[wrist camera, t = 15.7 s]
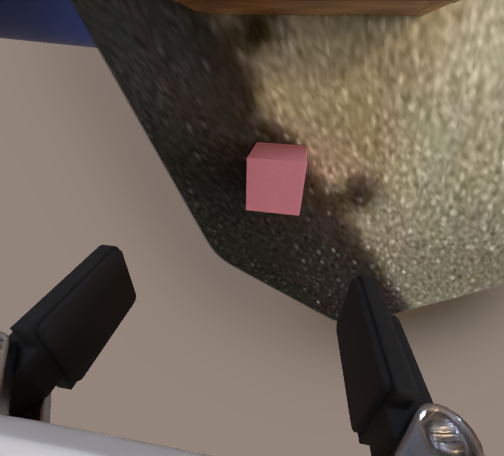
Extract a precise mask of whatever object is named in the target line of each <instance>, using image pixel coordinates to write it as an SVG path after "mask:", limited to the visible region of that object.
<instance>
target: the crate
mask: <svg viewBox="0 0 504 456" xmlns="http://www.w3.org/2000/svg"><path fill="white" fill-rule="evenodd" d="M173 1H175V2H177V3H181V4H183V5H185V6H187V7H188V8H190V9H192V10H194V11H196V12H198V13H199V14H257V15H411V16H423V15H425V14H427V13H430V12H432V11H434V10H436V9H439V8H441V7H443V6H445V5H448V4H450V3H455V2H458V1H460V0H173Z"/></svg>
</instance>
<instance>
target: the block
mask: <svg viewBox="0 0 504 456" xmlns="http://www.w3.org/2000/svg"><path fill="white" fill-rule="evenodd" d="M306 167H307V154H306V145H292V144H278V143H264V142H257V143H256V144H255V146H254V147H253V149H252V151H251V152H250V154H249V156H248V157H247V177H246V210H250V211H260V212H269V213H278V214H288V215H297V216H299V213H300V207H301V200H302V193H303V187H304V180H305V173H306Z"/></svg>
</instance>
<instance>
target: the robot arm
mask: <svg viewBox="0 0 504 456" xmlns="http://www.w3.org/2000/svg"><path fill="white" fill-rule="evenodd" d="M135 299H136V293H135V290H134V287H133V284H132V281H131V278H130V275H129V272H128V269H127V266H126V263H125V260H124V257H123V253H122V251H120V250H119V248H117V247H115V246H108V245H101V246H99V247H98V248H97V249H96V250H95V251H94V252H92V253H91V254H90V255H89V256H88V257H87V258H86V259H85V260H84V261H83V262H82V263H81V264H79V265H78V266H77V267H76V268H75V269H74V270H73V271H72V272H71V273H70V274H68V275H67V276H66V277H65V278H64V279H63V280H62V281H61V282H60V283H59V284H58V285H57V286H55V287H54V288H53V289H52V290H51V291H50V292H49V293H48V294H47V295H46V296H45V297H43V298H42V299H41V300H40V301H39V302H38V303H37V304H36V305H35V306H34V307H33V308H32V309H30V310H29V311H28V312H27V313H26V314H25V315H24V316H23V317H22V318H21V319H20V320H19V321H17V322H16V323H15V324H14V325H13V326H12V327H11V328H10V329H11V330H12V331H13V332H12V333H11V334H10V335H9V336H8V335H7V334H6V333H3V332H0V456H209V455H204V454H200V453H194V452H190V451H185V450H180V449H175V448H170V447H166V446H161V445H155V444H151V443H146V442H141V441H136V440H131V439H126V438H121V437H116V436H111V435H107V434H102V433H97V432H92V431H86V430H81V429H76V428H71V427H66V426H61V425H56V424H51V423H50V407H51V392H52V390H53V389H54V387H55V386H57V387H60V388H66V389H72V388H73V387H74V385H75V384H76V382H77V381H79V380H81V379H82V378H83V377H84V376H85V374H86V372H87V371H88V369H89V368H90V367H91V365H92V364H93V362H94V361H95V359H96V358H97V357H98V355H99V353H100V352H101V351H102V349H103V348H104V346H105V345H106V343H107V342H108V340H109V339H110V337H111V336H112V334H113V333H114V332H115V330H116V329H117V327H118V326H119V324H120V323H121V321H122V320H123V318H124V317H125V315H126V314H127V312H128V311H129V310H130V308H131V307H132V305H133V303H134V302H135ZM337 336H338V343H339V350H340V356H341V362H342V369H343V376H344V382H345V388H346V395H347V401H348V408H349V415H350V421H351V426H352V430H353V431H354V432H357V433H358V437H359V443H360V444H366V445H370V451H371V456H484V452H483V449H482V445H481V443H480V441H479V439H478V438H477V436H476V434H475V433H474V432H473V430H472V429H471V427H469V425H468V424H467V423H466V422H465V421H464V420H463V419H462V418H461V417H460V416H459V415H458V414H456V413H455V412H453V411H452V410H450V409H448V408H447V407H444V406H442V405H439V404H433V401H432V399H431V397H430V394H429V392H428V389H427V387H426V385H425V382H424V379H423V377H422V374H421V372H420V370H419V367H418V365H417V362H416V360H415V357H414V355H413V353H412V350H411V348H410V345H409V343H408V340H407V338H406V335H405V333H404V330H403V328H402V326H401V323H400V321H399V319H398V318H397V317H396V316H394V315H390V313H389V311H388V308H387V305H386V303H385V300H384V298H383V295H382V292H381V290H380V287H379V284H378V282H377V279H376V278H375V277H372V276H363V275H358V276H357V278H353V279H352V280H351V283H350V286H349V289H348V292H347V295H346V298H345V300H344V303H343V306H342V309H341V312H340V315H339V318H338V321H337Z"/></svg>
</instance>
